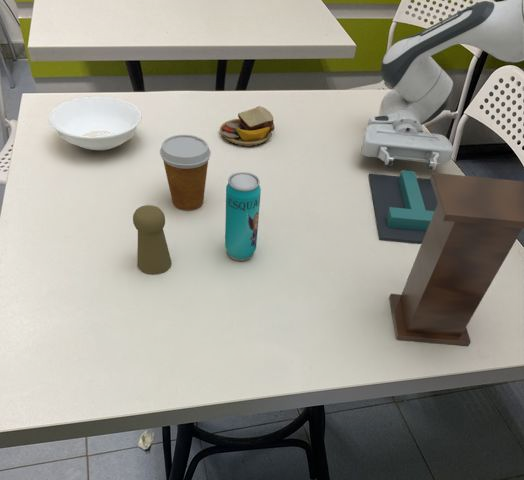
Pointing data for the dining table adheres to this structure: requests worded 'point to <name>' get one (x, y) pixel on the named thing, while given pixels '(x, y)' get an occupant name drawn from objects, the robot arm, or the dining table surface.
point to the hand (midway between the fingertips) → (411, 164)
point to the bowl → (95, 121)
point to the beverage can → (242, 215)
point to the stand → (458, 257)
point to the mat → (397, 206)
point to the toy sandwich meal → (249, 127)
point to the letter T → (409, 206)
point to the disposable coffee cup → (186, 169)
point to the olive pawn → (151, 240)
